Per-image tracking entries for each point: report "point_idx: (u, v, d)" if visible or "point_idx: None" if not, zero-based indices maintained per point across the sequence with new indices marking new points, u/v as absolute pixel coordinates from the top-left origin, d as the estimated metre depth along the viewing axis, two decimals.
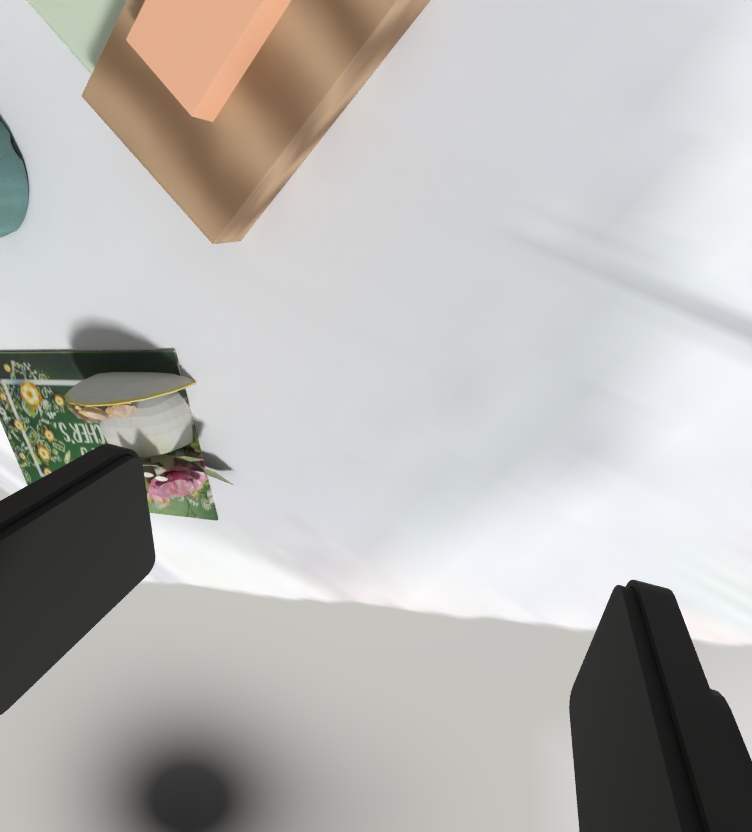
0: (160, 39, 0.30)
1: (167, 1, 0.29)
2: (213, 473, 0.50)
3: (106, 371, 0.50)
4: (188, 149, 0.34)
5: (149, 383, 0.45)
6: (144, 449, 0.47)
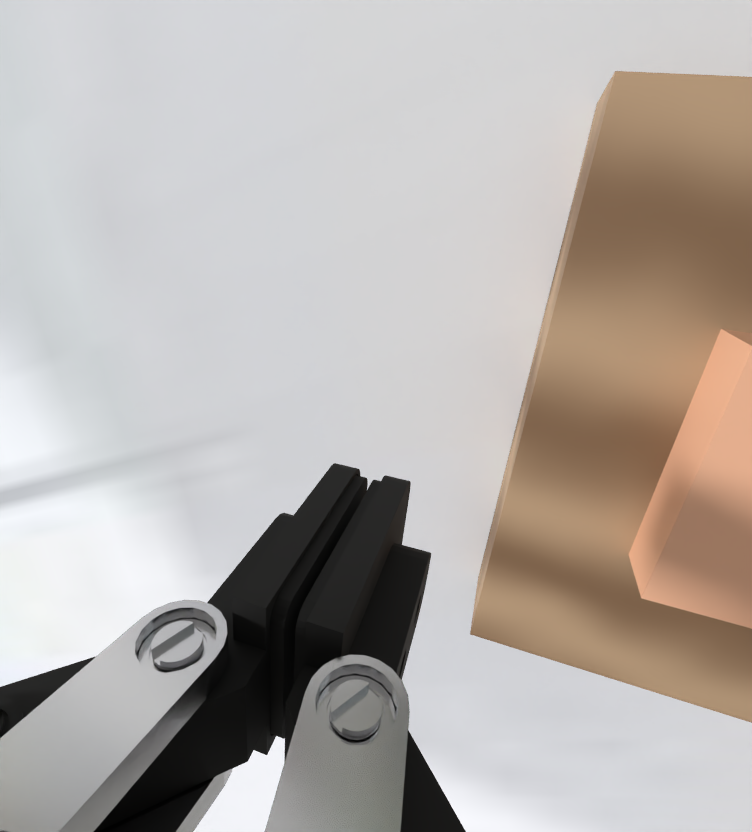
0: None
1: None
2: None
3: None
4: None
5: None
6: None
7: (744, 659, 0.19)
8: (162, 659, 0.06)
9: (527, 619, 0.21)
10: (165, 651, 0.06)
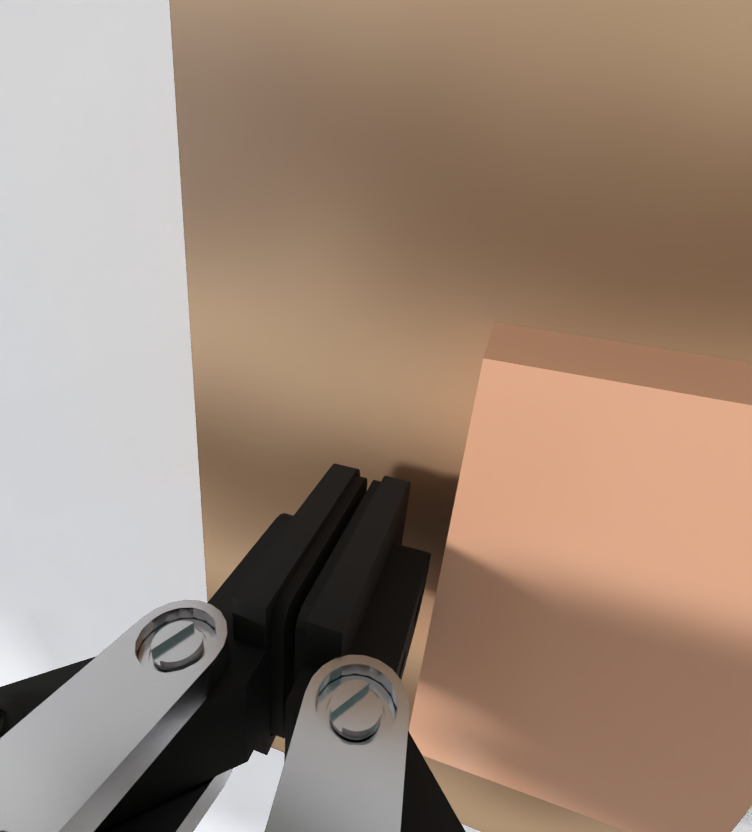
0: None
1: None
2: None
3: None
4: (460, 157, 0.08)
5: None
6: None
7: None
8: (162, 659, 0.06)
9: None
10: (165, 651, 0.06)
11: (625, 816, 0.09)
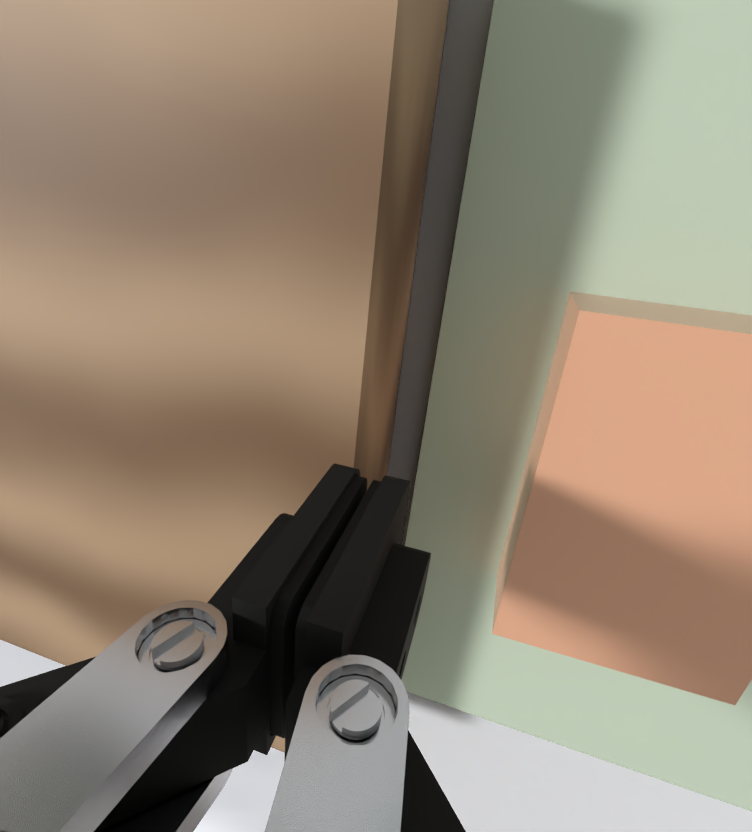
0: None
1: None
2: None
3: None
4: None
5: None
6: None
7: None
8: (162, 659, 0.06)
9: (33, 622, 0.18)
10: (165, 651, 0.06)
11: None
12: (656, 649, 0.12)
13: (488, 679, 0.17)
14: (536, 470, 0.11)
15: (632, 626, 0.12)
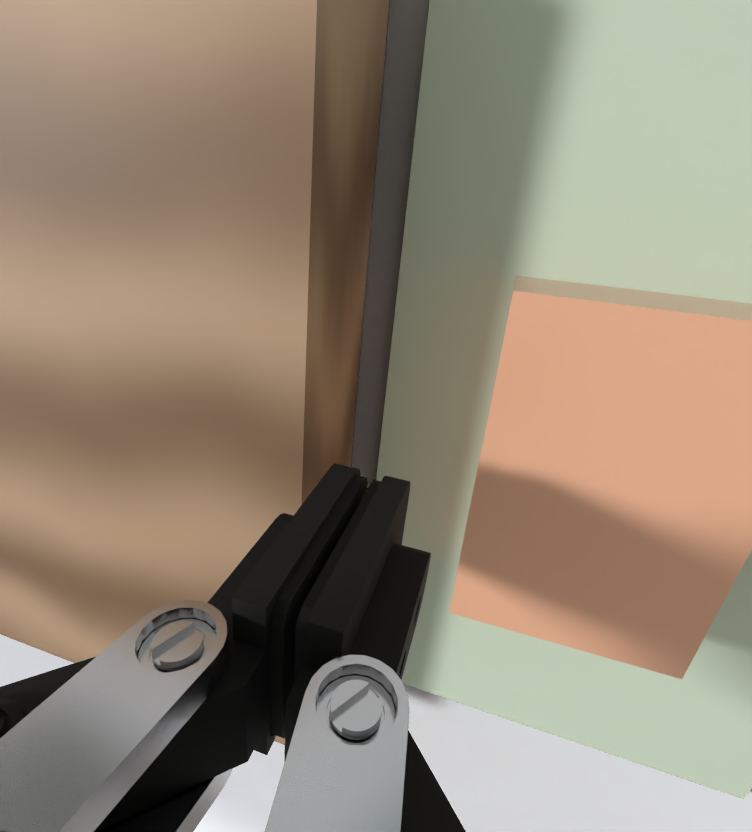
0: None
1: None
2: None
3: None
4: None
5: None
6: None
7: None
8: (162, 659, 0.06)
9: (11, 608, 0.18)
10: (165, 651, 0.06)
11: None
12: (605, 625, 0.12)
13: (456, 661, 0.17)
14: (481, 449, 0.11)
15: (580, 602, 0.12)
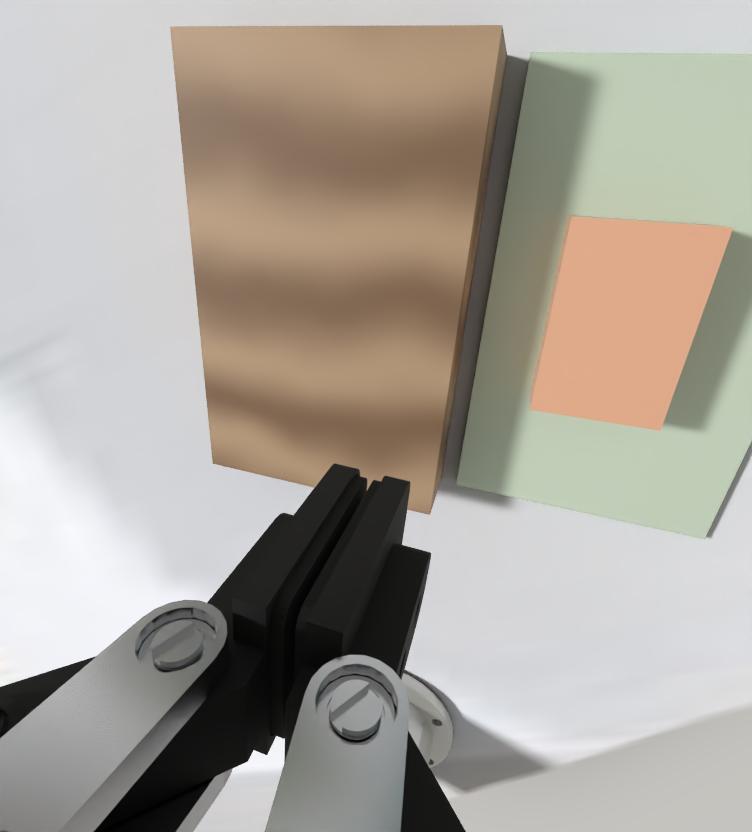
0: None
1: None
2: None
3: None
4: (286, 133, 0.21)
5: None
6: None
7: (371, 454, 0.26)
8: (162, 659, 0.06)
9: (242, 444, 0.29)
10: (165, 651, 0.06)
11: None
12: (618, 402, 0.22)
13: (524, 468, 0.28)
14: (552, 304, 0.21)
15: (604, 390, 0.22)
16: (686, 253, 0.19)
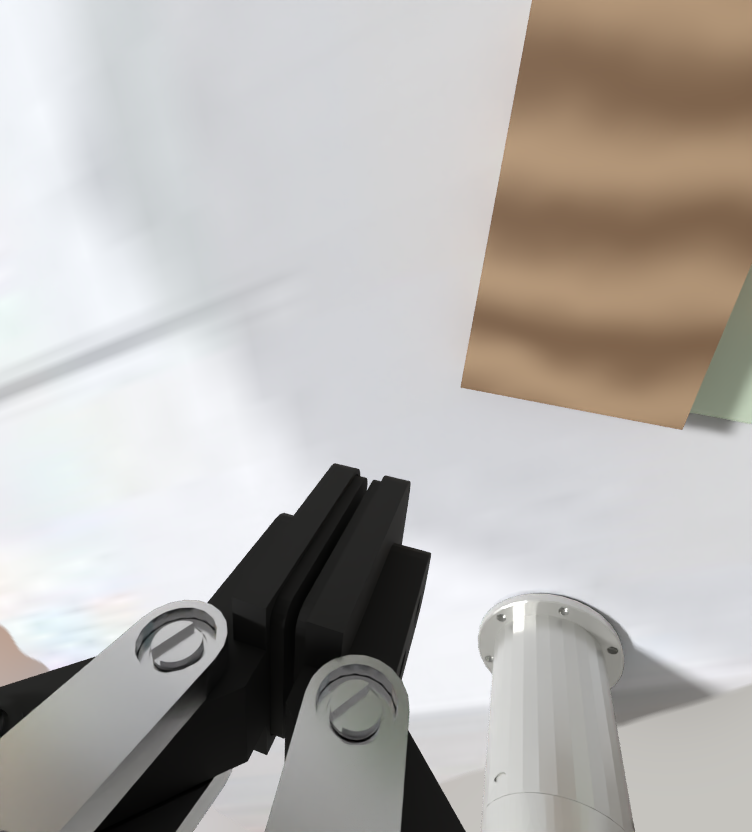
0: None
1: None
2: None
3: None
4: (630, 70, 0.24)
5: None
6: None
7: (635, 372, 0.29)
8: (162, 659, 0.06)
9: (498, 367, 0.31)
10: (165, 651, 0.06)
11: None
12: None
13: None
14: None
15: None
16: None
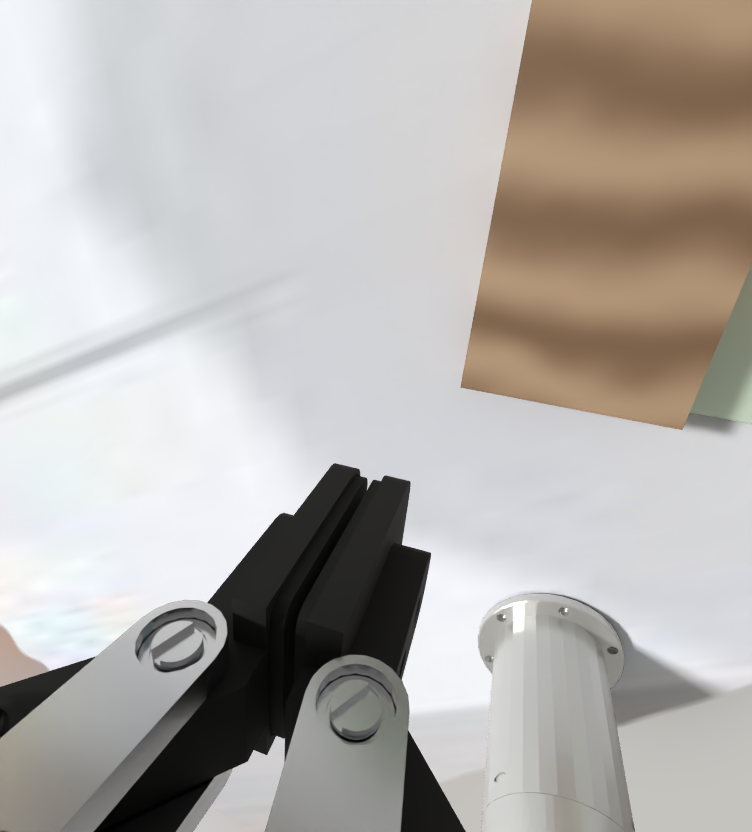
0: None
1: None
2: None
3: None
4: (630, 70, 0.24)
5: None
6: None
7: (635, 372, 0.29)
8: (162, 659, 0.06)
9: (498, 367, 0.31)
10: (165, 651, 0.06)
11: None
12: None
13: None
14: None
15: None
16: None
